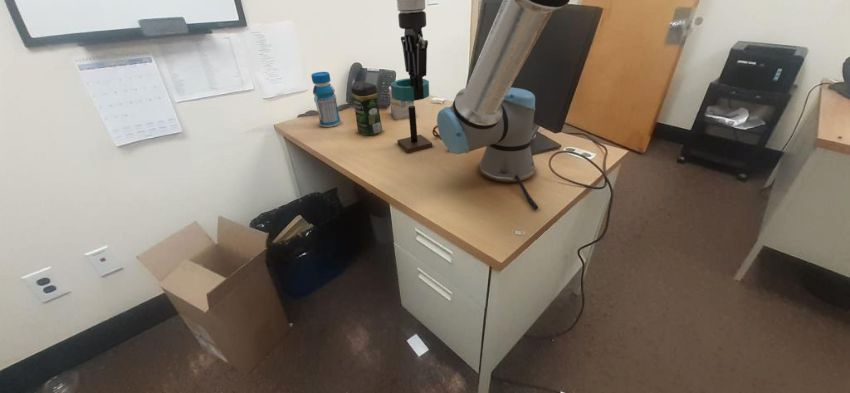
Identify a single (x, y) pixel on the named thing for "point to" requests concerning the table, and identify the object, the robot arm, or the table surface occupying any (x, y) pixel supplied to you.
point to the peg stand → (414, 136)
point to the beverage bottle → (325, 99)
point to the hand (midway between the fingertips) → (417, 98)
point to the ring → (407, 90)
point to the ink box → (399, 107)
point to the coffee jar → (366, 108)
